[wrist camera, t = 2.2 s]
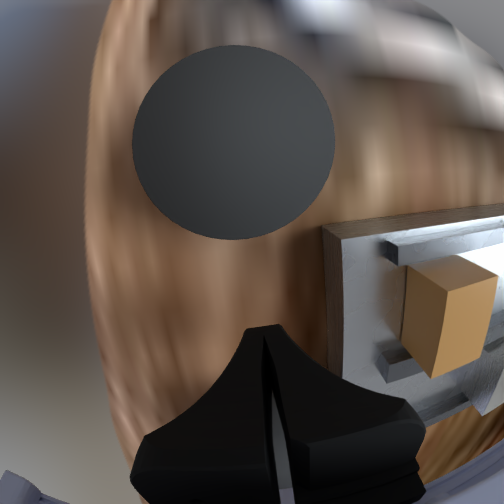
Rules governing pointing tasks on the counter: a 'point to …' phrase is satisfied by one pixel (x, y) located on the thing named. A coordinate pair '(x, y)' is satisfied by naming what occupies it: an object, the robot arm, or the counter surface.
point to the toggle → (447, 312)
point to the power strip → (393, 305)
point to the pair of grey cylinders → (235, 151)
